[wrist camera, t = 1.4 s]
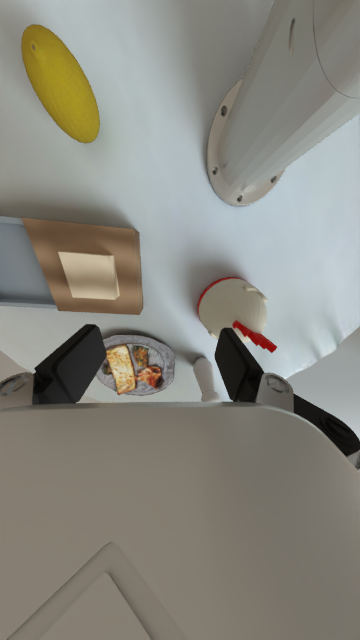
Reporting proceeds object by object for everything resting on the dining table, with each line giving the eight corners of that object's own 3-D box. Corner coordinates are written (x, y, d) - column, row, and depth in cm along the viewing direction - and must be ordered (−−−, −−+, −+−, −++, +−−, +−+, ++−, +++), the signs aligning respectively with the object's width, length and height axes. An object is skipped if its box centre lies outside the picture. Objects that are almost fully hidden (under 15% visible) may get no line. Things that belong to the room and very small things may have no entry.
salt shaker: (208, 353, 39) (224, 396, 27) (211, 365, 41) (226, 409, 30) (190, 357, 39) (197, 401, 28) (194, 370, 42) (202, 414, 30)
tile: (69, 251, 21) (57, 251, 19) (113, 255, 22) (107, 255, 19) (81, 293, 24) (72, 297, 22) (119, 295, 25) (114, 299, 23)
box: (-47, 213, 21) (-105, 203, 17) (45, 222, 22) (13, 215, 18) (4, 299, 28) (-27, 308, 24) (72, 303, 29) (54, 312, 25)
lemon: (59, 93, 16) (-28, -29, 9) (103, 94, 16) (52, -22, 9) (76, 157, 19) (18, 101, 12) (114, 158, 19) (80, 103, 12)
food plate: (173, 390, 46) (173, 400, 43) (106, 390, 45) (101, 400, 42) (175, 331, 35) (176, 338, 32) (87, 329, 34) (78, 336, 30)
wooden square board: (45, 222, 22) (21, 217, 19) (138, 232, 24) (133, 229, 20) (72, 303, 29) (58, 310, 26) (143, 307, 31) (139, 314, 27)
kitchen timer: (228, 337, 36) (260, 386, 23) (187, 316, 32) (196, 361, 19) (265, 295, 31) (335, 328, 18) (220, 265, 27) (266, 277, 14)
